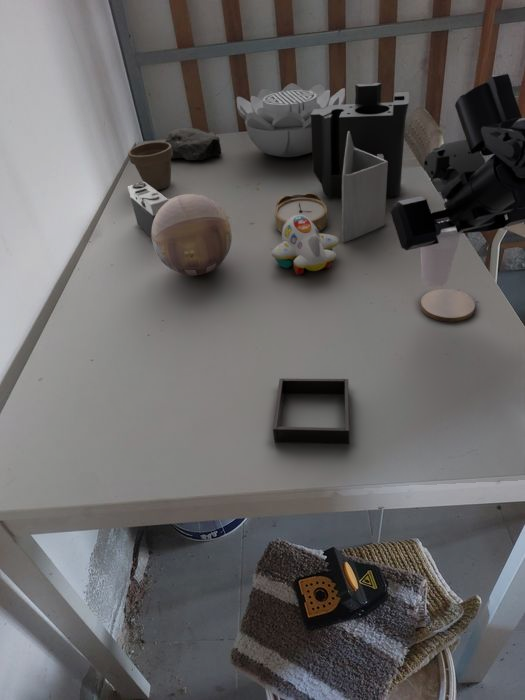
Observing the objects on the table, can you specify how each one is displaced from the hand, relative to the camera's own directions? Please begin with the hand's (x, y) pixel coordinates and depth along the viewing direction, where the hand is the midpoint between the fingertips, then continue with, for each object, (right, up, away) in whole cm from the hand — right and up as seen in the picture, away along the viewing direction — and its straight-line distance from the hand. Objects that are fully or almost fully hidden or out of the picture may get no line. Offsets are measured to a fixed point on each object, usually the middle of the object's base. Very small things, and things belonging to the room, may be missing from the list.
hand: (434, 234), depth 77 cm
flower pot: (-54, +27, +63) cm, 87 cm away
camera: (-48, +10, +41) cm, 64 cm away
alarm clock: (-17, +11, +38) cm, 43 cm away
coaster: (+5, -10, +8) cm, 14 cm away
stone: (-46, +40, +78) cm, 100 cm away
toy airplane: (-17, 0, +24) cm, 30 cm away
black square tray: (-19, -26, -8) cm, 33 cm away
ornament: (-38, -1, +26) cm, 46 cm away
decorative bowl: (-16, +40, +74) cm, 86 cm away
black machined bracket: (-2, +22, +48) cm, 53 cm away
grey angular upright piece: (-4, +9, +34) cm, 35 cm away
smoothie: (+1, -7, +3) cm, 7 cm away
